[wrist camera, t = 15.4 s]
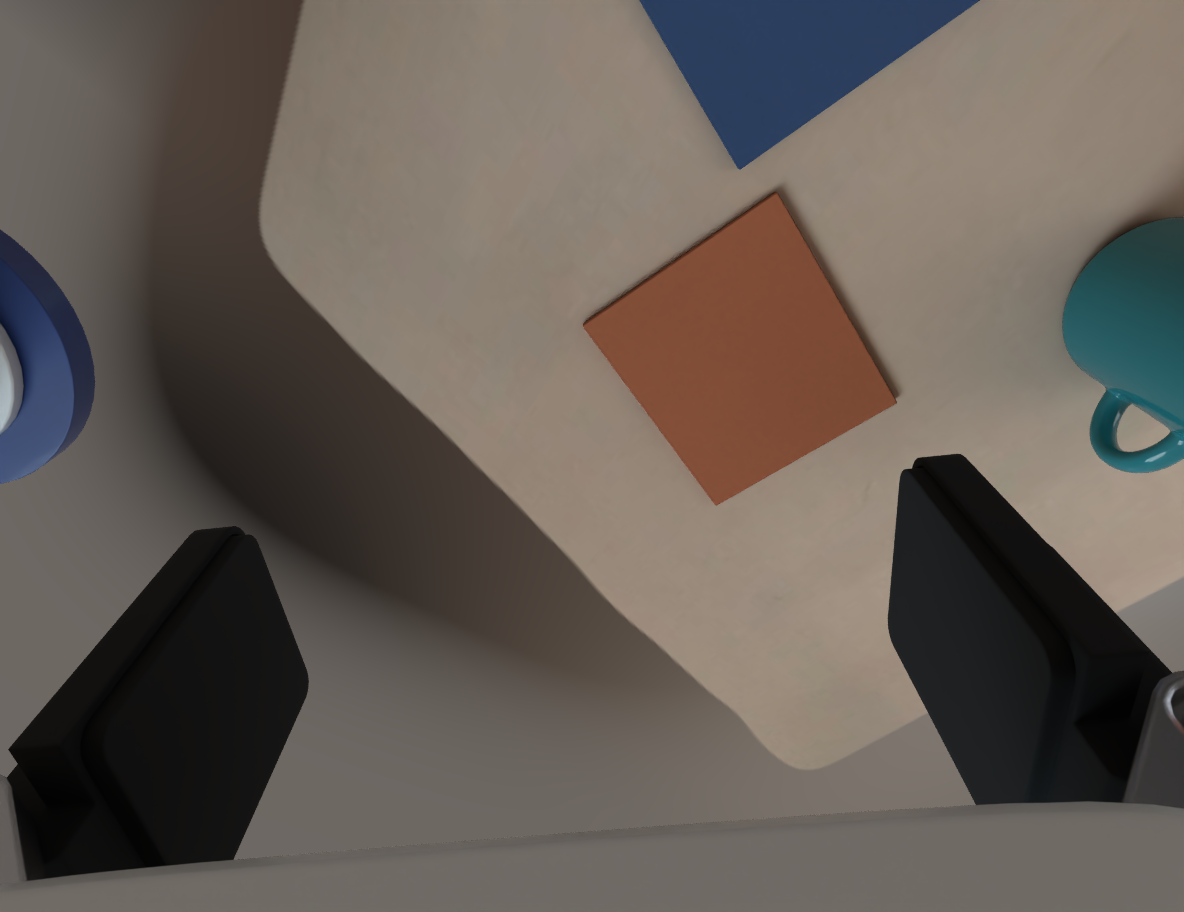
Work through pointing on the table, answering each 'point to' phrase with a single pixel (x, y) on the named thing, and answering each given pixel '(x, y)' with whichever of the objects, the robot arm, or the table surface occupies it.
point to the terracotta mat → (742, 353)
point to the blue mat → (786, 56)
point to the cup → (1133, 339)
